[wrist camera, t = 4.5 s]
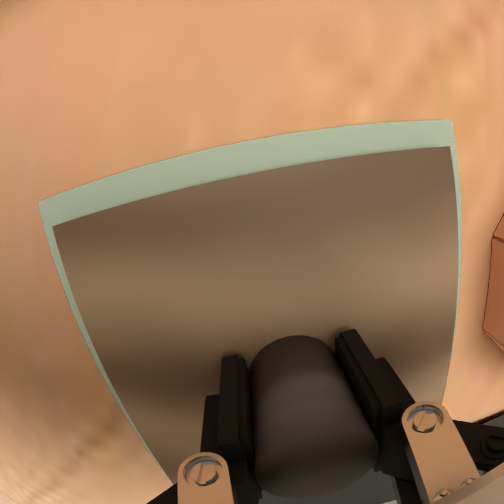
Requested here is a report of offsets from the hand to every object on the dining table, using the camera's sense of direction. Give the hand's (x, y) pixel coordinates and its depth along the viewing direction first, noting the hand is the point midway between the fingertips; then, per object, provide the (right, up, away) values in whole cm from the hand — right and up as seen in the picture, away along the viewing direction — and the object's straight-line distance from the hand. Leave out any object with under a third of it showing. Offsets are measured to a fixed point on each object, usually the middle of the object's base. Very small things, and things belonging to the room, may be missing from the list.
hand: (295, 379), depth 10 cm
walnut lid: (0, 0, +1) cm, 1 cm away
